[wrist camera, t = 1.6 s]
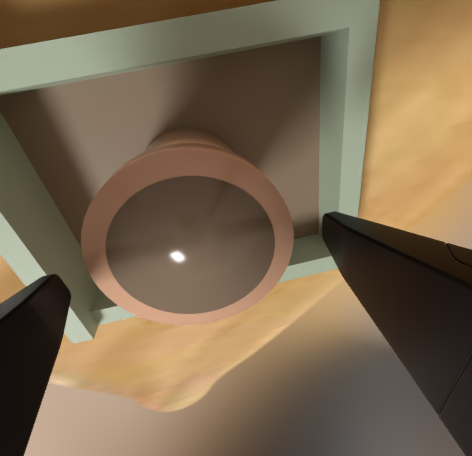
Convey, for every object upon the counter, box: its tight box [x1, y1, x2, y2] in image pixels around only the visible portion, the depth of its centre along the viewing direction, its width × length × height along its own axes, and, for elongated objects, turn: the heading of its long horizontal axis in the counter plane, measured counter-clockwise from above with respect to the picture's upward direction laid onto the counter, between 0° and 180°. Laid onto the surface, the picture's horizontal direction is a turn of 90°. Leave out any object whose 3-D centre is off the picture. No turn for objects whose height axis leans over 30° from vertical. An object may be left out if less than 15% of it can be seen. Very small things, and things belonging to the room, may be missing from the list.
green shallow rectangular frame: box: [0, 0, 380, 344], centre depth 14 cm, size 18×14×4 cm
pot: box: [81, 127, 294, 325], centre depth 12 cm, size 7×7×8 cm
